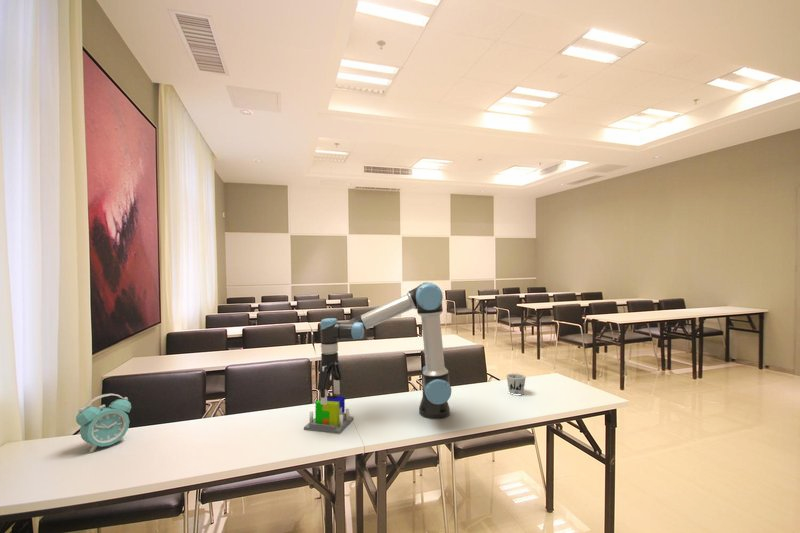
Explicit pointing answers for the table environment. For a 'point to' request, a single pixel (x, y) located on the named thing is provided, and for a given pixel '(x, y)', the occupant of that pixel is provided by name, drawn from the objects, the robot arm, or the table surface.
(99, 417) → the alarm clock
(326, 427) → the tray
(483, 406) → the table surface
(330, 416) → the puzzle toy
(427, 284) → the robot arm
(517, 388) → the mug
